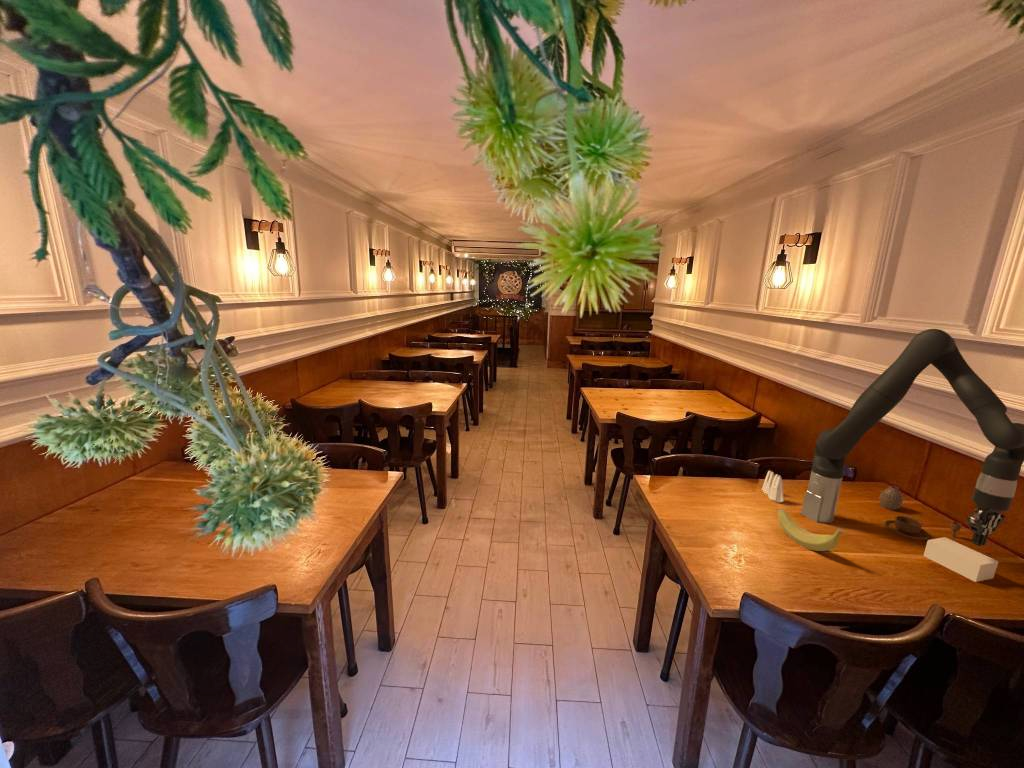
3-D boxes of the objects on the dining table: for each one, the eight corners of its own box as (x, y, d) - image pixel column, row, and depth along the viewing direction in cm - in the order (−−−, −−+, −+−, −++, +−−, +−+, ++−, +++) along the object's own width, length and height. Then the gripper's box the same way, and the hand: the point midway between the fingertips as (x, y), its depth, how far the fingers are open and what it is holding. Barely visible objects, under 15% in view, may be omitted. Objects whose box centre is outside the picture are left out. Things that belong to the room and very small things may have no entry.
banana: (795, 549, 147) (856, 549, 130) (784, 551, 145) (843, 551, 128) (783, 508, 152) (839, 502, 134) (771, 509, 150) (827, 504, 132)
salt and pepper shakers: (783, 506, 169) (788, 479, 166) (772, 504, 169) (776, 478, 167) (771, 492, 180) (775, 467, 178) (760, 491, 181) (764, 466, 179)
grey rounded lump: (905, 512, 168) (910, 491, 166) (887, 511, 168) (892, 490, 166) (890, 503, 174) (895, 483, 172) (873, 503, 174) (878, 482, 172)
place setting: (883, 517, 164) (886, 503, 163) (957, 537, 152) (961, 522, 151) (884, 536, 151) (888, 521, 149) (965, 560, 138) (970, 544, 137)
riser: (975, 583, 126) (980, 565, 125) (923, 557, 138) (927, 540, 137) (992, 579, 128) (998, 561, 127) (940, 553, 141) (944, 537, 139)
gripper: (996, 498, 119) (979, 554, 123) (1027, 494, 123) (1009, 548, 127) (962, 486, 126) (947, 540, 130) (992, 482, 130) (976, 534, 134)
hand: (978, 544), depth 128 cm, fingers closed
